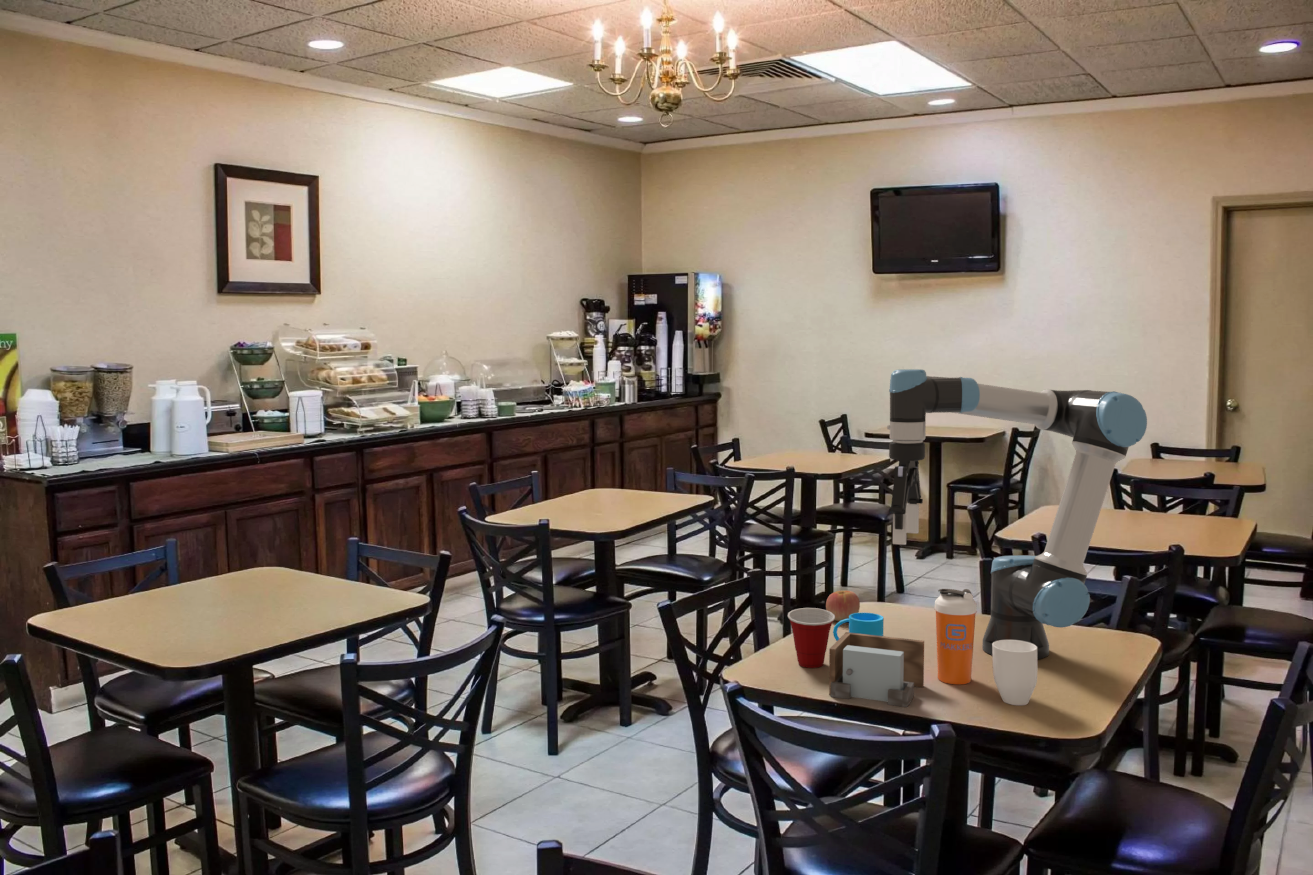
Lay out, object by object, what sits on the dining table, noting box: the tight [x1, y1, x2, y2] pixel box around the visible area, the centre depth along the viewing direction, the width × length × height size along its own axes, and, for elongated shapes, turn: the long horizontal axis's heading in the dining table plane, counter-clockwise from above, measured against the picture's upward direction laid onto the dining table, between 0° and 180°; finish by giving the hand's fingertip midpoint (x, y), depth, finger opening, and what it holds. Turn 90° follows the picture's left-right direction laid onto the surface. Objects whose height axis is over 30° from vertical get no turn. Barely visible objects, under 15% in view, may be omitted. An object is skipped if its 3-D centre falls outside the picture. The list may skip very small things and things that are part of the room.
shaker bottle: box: [934, 588, 978, 685], centre depth 232 cm, size 9×9×20 cm
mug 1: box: [832, 612, 885, 642], centre depth 256 cm, size 12×8×8 cm
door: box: [843, 645, 904, 703], centre depth 222 cm, size 12×4×10 cm, turn 65°
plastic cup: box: [787, 607, 835, 669], centre depth 244 cm, size 11×11×12 cm
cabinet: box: [828, 631, 925, 708], centre depth 225 cm, size 17×15×10 cm
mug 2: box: [991, 640, 1038, 706], centre depth 220 cm, size 12×9×12 cm
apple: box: [825, 590, 861, 622], centre depth 281 cm, size 9×9×8 cm
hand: (905, 538), depth 229 cm, fingers open, 13 cm apart
